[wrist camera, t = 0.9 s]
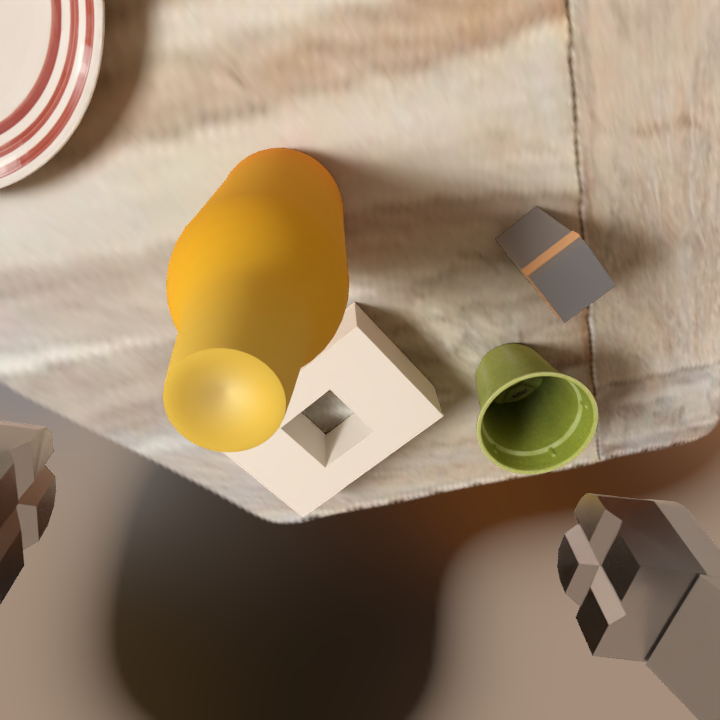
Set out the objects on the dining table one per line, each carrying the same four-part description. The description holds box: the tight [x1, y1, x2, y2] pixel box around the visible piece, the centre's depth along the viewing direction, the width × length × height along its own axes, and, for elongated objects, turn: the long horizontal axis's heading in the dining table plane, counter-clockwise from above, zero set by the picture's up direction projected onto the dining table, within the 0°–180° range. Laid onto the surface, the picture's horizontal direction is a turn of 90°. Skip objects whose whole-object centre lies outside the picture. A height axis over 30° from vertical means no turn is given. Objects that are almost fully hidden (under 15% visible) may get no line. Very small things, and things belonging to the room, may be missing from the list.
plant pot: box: [476, 343, 598, 474], centre depth 50 cm, size 9×9×9 cm
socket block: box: [223, 302, 443, 517], centre depth 52 cm, size 16×11×5 cm
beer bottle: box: [163, 148, 349, 452], centre depth 33 cm, size 9×9×29 cm
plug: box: [495, 206, 616, 322], centre depth 44 cm, size 4×4×10 cm
